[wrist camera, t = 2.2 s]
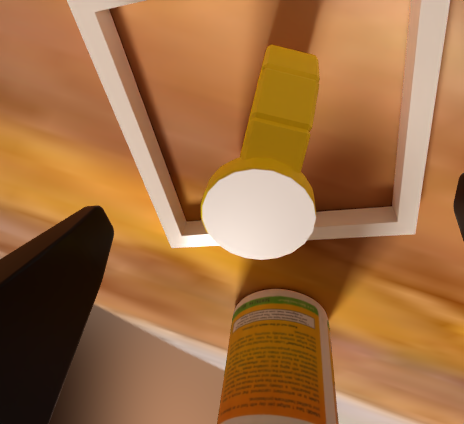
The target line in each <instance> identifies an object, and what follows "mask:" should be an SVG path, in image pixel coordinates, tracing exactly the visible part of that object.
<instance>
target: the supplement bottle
mask: <svg viewBox="0 0 464 424" xmlns="http://www.w3.org/2000/svg"><path fill="white" fill-rule="evenodd" d="M217 424H339V423H338V413H337V403H336V392H335V381H334V370H333V359H332V347H331V338H330V328H329V322H328V317H327V314H326V312H325V310H324V309H323V307H322V306H321V305H320V304H319V303H318V302H316V301H315V300H314V299H312V298H310V297H308V296H306V295H304V294H301V293H298V292H295V291H291V290H284V289H267V290H262V291H258V292H255V293H252V294H250V295H248V296H246V297H245V298H243V299H242V300H241V301H240V302H239V303H238V304H237V306H236V308H235V310H234V313H233V319H232V325H231V332H230V339H229V346H228V353H227V361H226V367H225V374H224V381H223V388H222V395H221V401H220V408H219V414H218V421H217Z"/></svg>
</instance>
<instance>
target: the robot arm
mask: <svg viewBox="0 0 464 424" xmlns="http://www.w3.org/2000/svg"><path fill="white" fill-rule="evenodd" d="M454 213H455V216H456V219H457V222H458V225H459V228H460V231H461V235H462V238H463V241H464V173H462V174H461V176H460V177H459V181H458V185H457V190H456V194H455V199H454ZM113 237H114V229H113V226H112V225H111V223H110V221H109V219H108V217H107V215H106V213H105V211H104V210H103V208H102V207H100V206H87V207H84V208H82V209H81V210H79V211H78V212H76V213H74V214H73V215H71V216H69V217H68V218H66V219H65V220H63V221H61V222H60V223H58V224H57V225H55V226H53V227H52V228H50V229H48V230H47V231H45V232H44V233H42V234H40V235H39V236H37V237H36V238H34V239H32V240H31V241H29V242H27V243H26V244H24V245H23V246H21V247H19V248H18V249H16V250H14V251H13V252H11V253H10V254H8V255H6V256H5V257H3V258H2V259H0V424H48V423H49V421H50V418H51V415H52V412H53V410H54V408H55V405H56V402H57V399H58V397H59V394H60V391H61V389H62V386H63V383H64V381H65V378H66V375H67V373H68V370H69V368H70V365H71V362H72V360H73V357H74V354H75V352H76V349H77V346H78V344H79V341H80V338H81V336H82V333H83V331H84V328H85V325H86V323H87V320H88V317H89V315H90V312H91V309H92V307H93V304H94V301H95V299H96V296H97V293H98V291H99V288H100V285H101V282H102V279H103V275H104V272H105V268H106V264H107V260H108V256H109V252H110V248H111V245H112V241H113Z"/></svg>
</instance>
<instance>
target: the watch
mask: <svg viewBox="0 0 464 424" xmlns="http://www.w3.org/2000/svg"><path fill="white" fill-rule="evenodd" d="M319 80H320V79H319V65H318V59H317V57H316V56H315V55H312V54H308V53H304V52H300V51H296V50H292V49H288V48H284V47H280V46H276V45H272V44H271V45H270V46H268V47H267V49H266V52H265V55H264V59H263V63H262V67H261V71H260V75H259V78H258V82H257V83H258V84H257V88H256V92H255V96H254V100H253V104H252V108H251V112H250V117H249V121H248V125H247V129H246V133H245V137H244V141H243V145H242V150H241V154H240V158H236V159H234V160H232V161H230V162H228V163H226V164H225V165H223V166H221V167H220V168H219V169H218V170H217V171H216V172H215V173H214V174H213V176H212V177H211V178H210V179H209V182H208V184H207V187H206V189H205V192H204V195H203V198H202V201H201V220H202V222H203V225H204V227H205V230H206V232H207V233H208V234H209V235H210V237H211V238H212V239H213V240H214V241H215V242H216V243H217V244H218V245H220V246H221V247H223V248H224V249H226V250H227V251H229V252H230V253H233V254H236V255H238V256H241V257H244V258H250V259H259V260H265V259H274V258H279V257H282V256H284V255H287V254H290V253H292V252H294V251H295V250H297V249H298V248H299V247H301V246H302V245H303V244H305V242H306V241H307V239H308V238H309V236H310V235H311V234H312V232H313V229H314V225H315V221H316V207H315V199H314V193H313V189H312V187H311V185H310V184H309V182H308V180H307V179H306V177H305V176H304V174H303V173H301V169H302V165H303V161H304V157H305V154H306V150H307V146H308V142H309V139H310V133H309V132H310V130H311V129H312V125H313V119H314V113H315V107H316V101H317V95H318V89H319Z"/></svg>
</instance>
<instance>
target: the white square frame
mask: <svg viewBox="0 0 464 424" xmlns="http://www.w3.org/2000/svg"><path fill="white" fill-rule="evenodd" d="M141 1H145V0H67V2H68V4H69V7H70V9H71V11H72V14H73V16H74V18H75V21H76V23H77V26H78V28H79V30H80V33H81V35H82V37H83V40H84V42H85V44H86V47H87V49H88V52H89V54H90V56H91V59H92V61H93V63H94V66H95V68H96V71H97V73H98V75H99V78H100V80H101V82H102V85H103V87H104V89H105V92H106V94H107V97H108V99H109V101H110V104H111V106H112V108H113V111H114V113H115V115H116V118H117V120H118V123H119V125H120V127H121V130H122V132H123V134H124V137H125V139H126V141H127V144H128V146H129V149H130V151H131V153H132V156H133V158H134V160H135V163H136V165H137V167H138V170H139V172H140V175H141V177H142V179H143V182H144V184H145V186H146V189H147V191H148V193H149V196H150V198H151V201H152V203H153V205H154V208H155V210H156V212H157V215H158V217H159V219H160V222H161V224H162V227H163V229H164V231H165V234H166V236H167V238H168V241H169V243H170V245H171V248H180V247H197V246H215V245H218V244H217V243H216V242H215V241H214V240H213V239H212V238H211V237H210V235H209V234H208V233H207V232H206V230H205V227H204V225H203V222H202V220H201V221H187V222H186V219H185V216H184V213H183V211H182V208H181V205H180V202H179V200H178V197H177V194H176V191H175V189H174V186H173V183H172V180H171V178H170V175H169V172H168V169H167V167H166V164H165V161H164V158H163V156H162V153H161V150H160V148H159V145H158V142H157V139H156V137H155V134H154V131H153V128H152V126H151V123H150V120H149V117H148V115H147V112H146V109H145V106H144V104H143V101H142V98H141V95H140V93H139V90H138V87H137V84H136V82H135V79H134V76H133V73H132V71H131V68H130V65H129V62H128V60H127V57H126V54H125V52H124V49H123V46H122V43H121V41H120V38H119V35H118V32H117V30H116V27H115V24H114V21H113V19H112V16H111V13H110V10H109V9H110V8H115V7H119V6H123V5H128V4H132V3H136V2H141ZM449 5H450V0H411V3H410V14H409V25H408V36H407V47H406V58H405V69H404V80H403V91H402V102H401V113H400V124H399V135H398V146H397V157H396V167H395V178H394V189H393V200H392V206H389V207H376V208H363V209H349V210H336V211H322V212H316V221H315V225H314V229H313V232H312V234H311V235H310V236H309V238H308V239H307V240H321V239H338V238H356V237H373V236H391V235H409V234H415V231H416V225H417V218H418V211H419V205H420V198H421V191H422V185H423V178H424V171H425V165H426V158H427V151H428V145H429V138H430V132H431V125H432V118H433V112H434V105H435V98H436V92H437V85H438V78H439V72H440V65H441V58H442V52H443V45H444V38H445V32H446V25H447V18H448V12H449Z"/></svg>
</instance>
